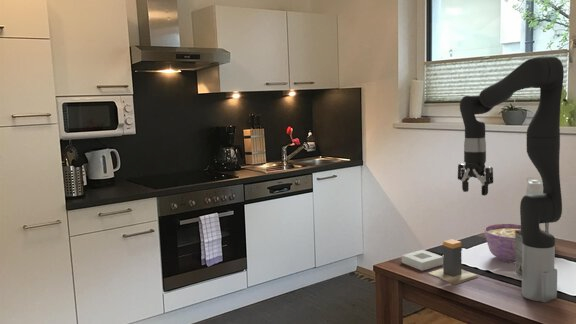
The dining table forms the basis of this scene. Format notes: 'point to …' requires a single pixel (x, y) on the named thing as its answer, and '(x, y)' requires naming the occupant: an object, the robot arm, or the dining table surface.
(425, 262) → the white square block
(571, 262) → the dining table surface
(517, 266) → the coffee box
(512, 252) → the bowl of food
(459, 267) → the grey square pillar
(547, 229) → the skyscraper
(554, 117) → the robot arm
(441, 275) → the mat
